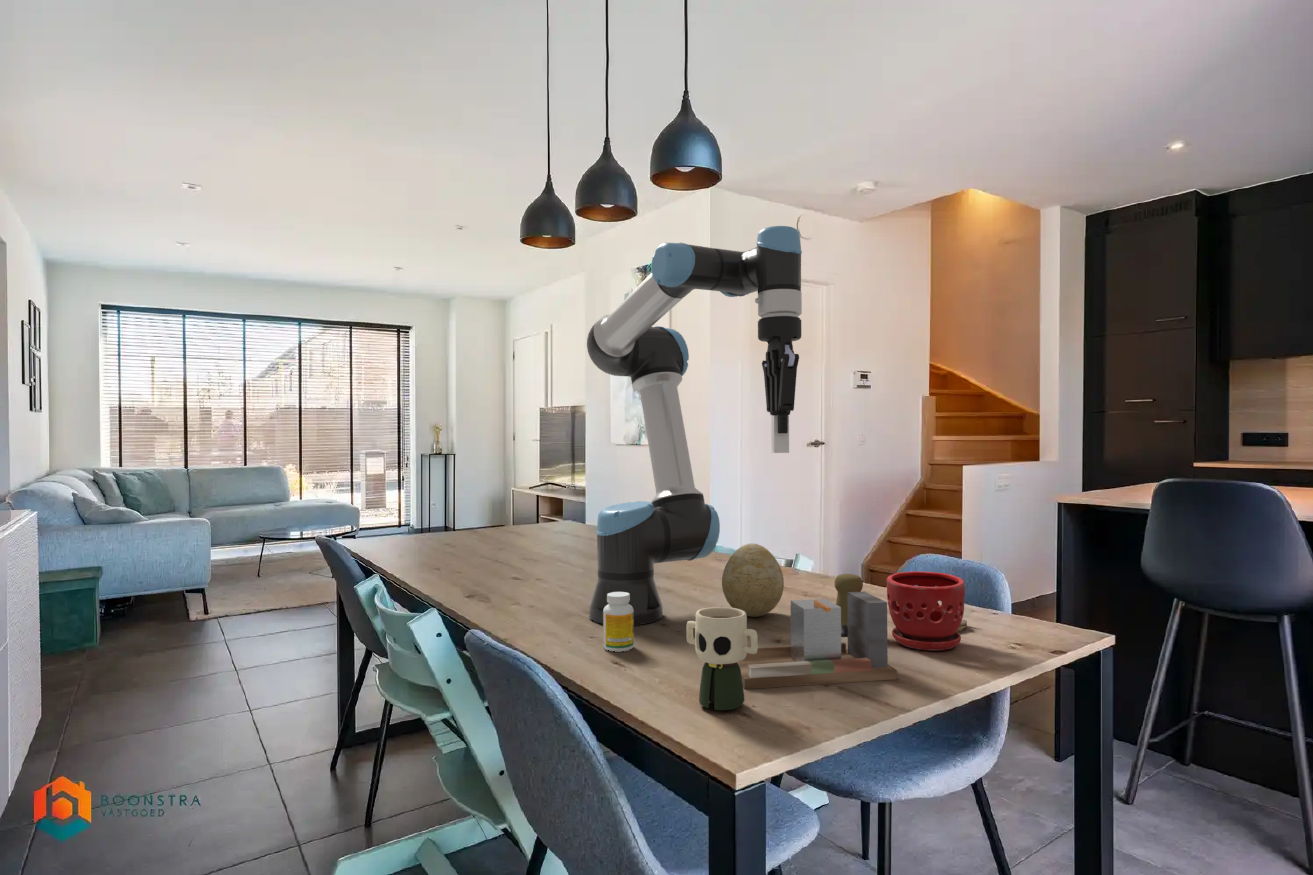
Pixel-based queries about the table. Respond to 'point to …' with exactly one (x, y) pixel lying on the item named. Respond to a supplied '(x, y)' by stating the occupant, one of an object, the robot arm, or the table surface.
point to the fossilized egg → (753, 580)
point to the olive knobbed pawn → (843, 586)
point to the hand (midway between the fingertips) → (780, 452)
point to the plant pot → (926, 609)
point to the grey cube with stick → (816, 630)
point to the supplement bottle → (618, 623)
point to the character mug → (721, 654)
